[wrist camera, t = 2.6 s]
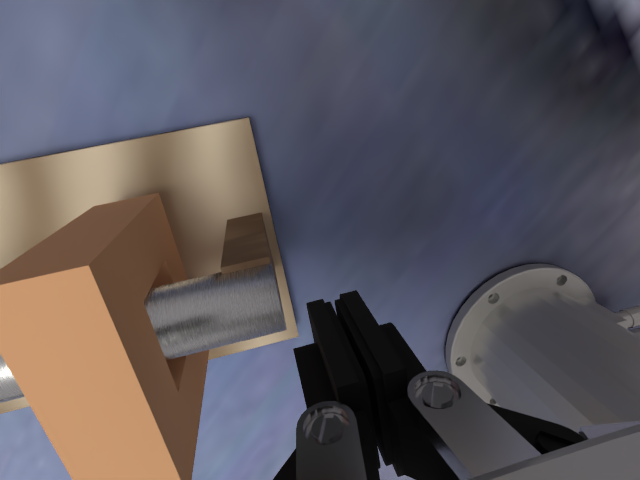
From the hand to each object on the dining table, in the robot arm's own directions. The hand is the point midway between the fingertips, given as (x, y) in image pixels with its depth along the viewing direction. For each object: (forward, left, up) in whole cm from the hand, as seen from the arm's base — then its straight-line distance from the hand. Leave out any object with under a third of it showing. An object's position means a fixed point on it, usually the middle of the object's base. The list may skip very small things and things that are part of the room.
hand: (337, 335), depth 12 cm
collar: (+8, 0, -9) cm, 12 cm away
